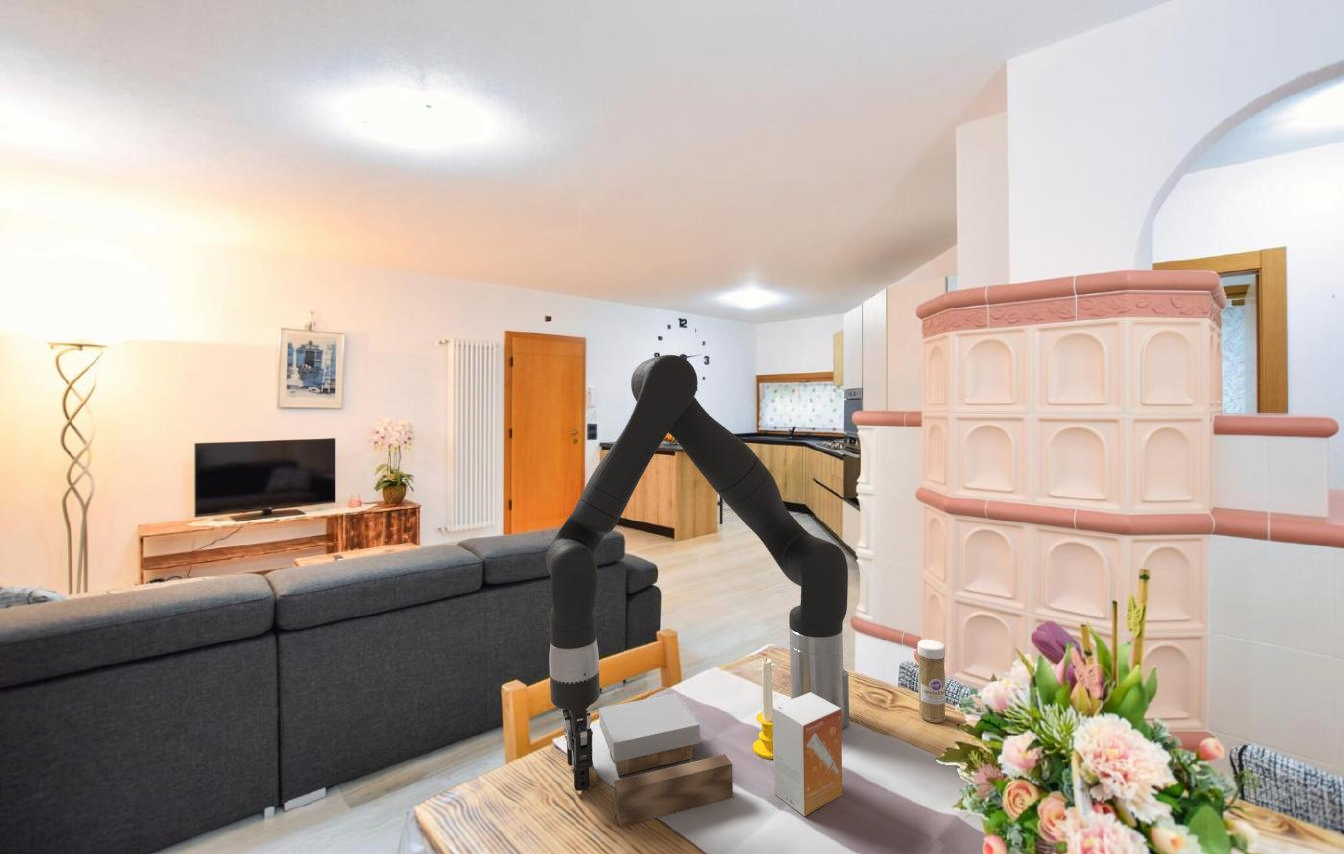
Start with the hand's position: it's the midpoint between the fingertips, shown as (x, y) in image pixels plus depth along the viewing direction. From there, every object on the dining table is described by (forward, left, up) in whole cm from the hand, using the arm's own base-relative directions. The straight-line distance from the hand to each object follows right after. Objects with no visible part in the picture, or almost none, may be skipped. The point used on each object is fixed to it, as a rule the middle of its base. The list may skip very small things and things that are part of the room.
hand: (578, 774), depth 90 cm
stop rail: (-12, +11, -1) cm, 16 cm away
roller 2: (-12, +1, -1) cm, 12 cm away
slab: (-12, -2, +3) cm, 13 cm away
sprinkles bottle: (-63, +6, -1) cm, 63 cm away
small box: (-31, +16, -1) cm, 35 cm away
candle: (-31, +4, -1) cm, 31 cm away
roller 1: (0, 0, 0) cm, 0 cm away
